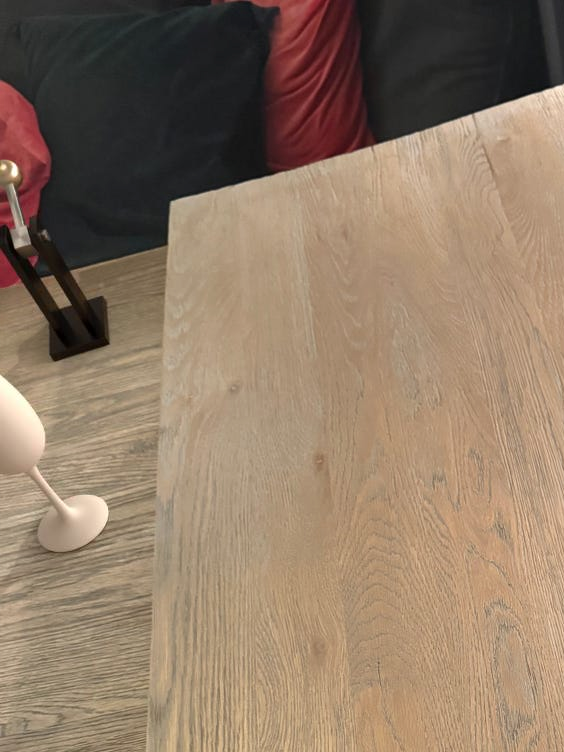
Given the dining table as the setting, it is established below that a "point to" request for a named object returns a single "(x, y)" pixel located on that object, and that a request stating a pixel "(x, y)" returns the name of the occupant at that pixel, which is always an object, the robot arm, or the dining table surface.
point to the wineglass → (20, 454)
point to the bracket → (66, 325)
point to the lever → (16, 209)
